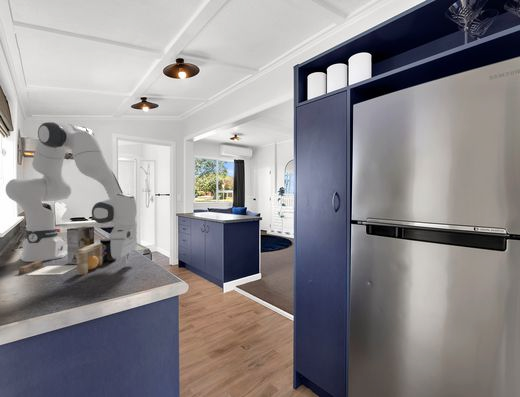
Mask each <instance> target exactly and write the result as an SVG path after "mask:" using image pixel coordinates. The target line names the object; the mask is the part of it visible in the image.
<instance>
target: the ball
mask: <svg viewBox="0 0 520 397" xmlns="http://www.w3.org/2000/svg"><path fill="white" fill-rule="evenodd" d="M98 262H99V260H98V258H97V257H96V256H94V255H88V271H89V270H93V269H95V268H97V267H98V266H97V265H98Z"/></svg>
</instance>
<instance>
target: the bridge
mask: <svg viewBox="0 0 520 397" xmlns="http://www.w3.org/2000/svg"><path fill="white" fill-rule="evenodd" d="M91 250H93V255H94V256H96V257H97V258H98V260H99V262H98V265H97V266H96V267H98V266H99V267H101V266H102V265H103V262H102V243H100V242H97V243H96V242H94V244H92V245H89V246H87V247H84V248H82V249H79V250H77V264H76V265H77V267H76V274H77V275H78V276H80V275H84V276H85V275H87V274H88V273H89V269H88V252H89V251H91Z"/></svg>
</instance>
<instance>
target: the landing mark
mask: <svg viewBox="0 0 520 397" xmlns="http://www.w3.org/2000/svg"><path fill="white" fill-rule="evenodd" d="M74 269H77V264H73V265H72V264H70V265H69V264H68V265H46V266H45V267H41V268H38V269H36V270H33V271H31V272H29V273H26V276H49V275H50V276H51V275H52V276H53V275H57V276H58V275H64V274H66V273H68V272H70V271H72V270H74Z"/></svg>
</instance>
